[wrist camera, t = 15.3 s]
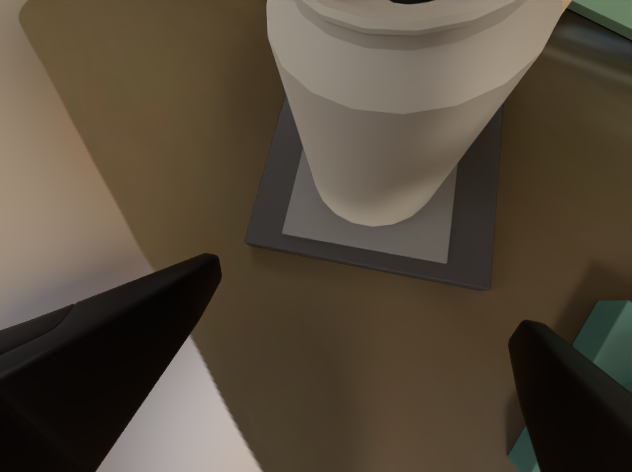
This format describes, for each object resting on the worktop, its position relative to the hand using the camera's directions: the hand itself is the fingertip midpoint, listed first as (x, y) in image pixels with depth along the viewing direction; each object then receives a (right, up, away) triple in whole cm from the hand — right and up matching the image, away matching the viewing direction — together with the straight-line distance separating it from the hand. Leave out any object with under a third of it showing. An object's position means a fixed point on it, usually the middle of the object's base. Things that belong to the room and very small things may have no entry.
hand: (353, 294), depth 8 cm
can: (+3, +6, +9) cm, 11 cm away
